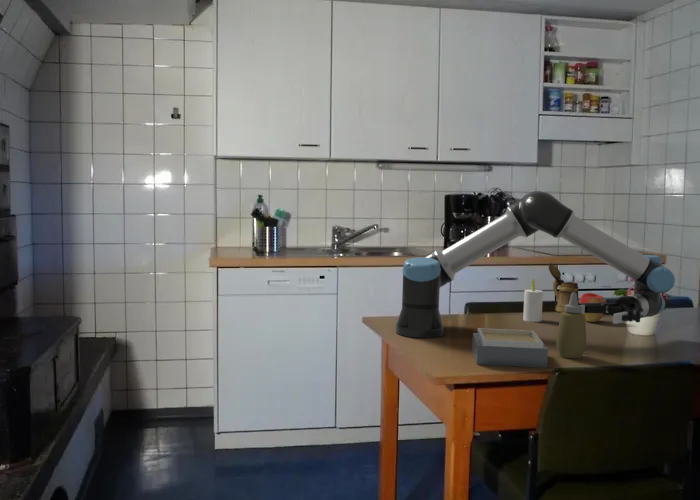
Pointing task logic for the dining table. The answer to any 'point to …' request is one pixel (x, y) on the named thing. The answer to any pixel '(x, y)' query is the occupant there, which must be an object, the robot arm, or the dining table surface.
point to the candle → (533, 304)
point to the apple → (592, 299)
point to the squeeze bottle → (572, 330)
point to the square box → (509, 348)
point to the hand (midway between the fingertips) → (592, 315)
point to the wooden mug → (562, 289)
